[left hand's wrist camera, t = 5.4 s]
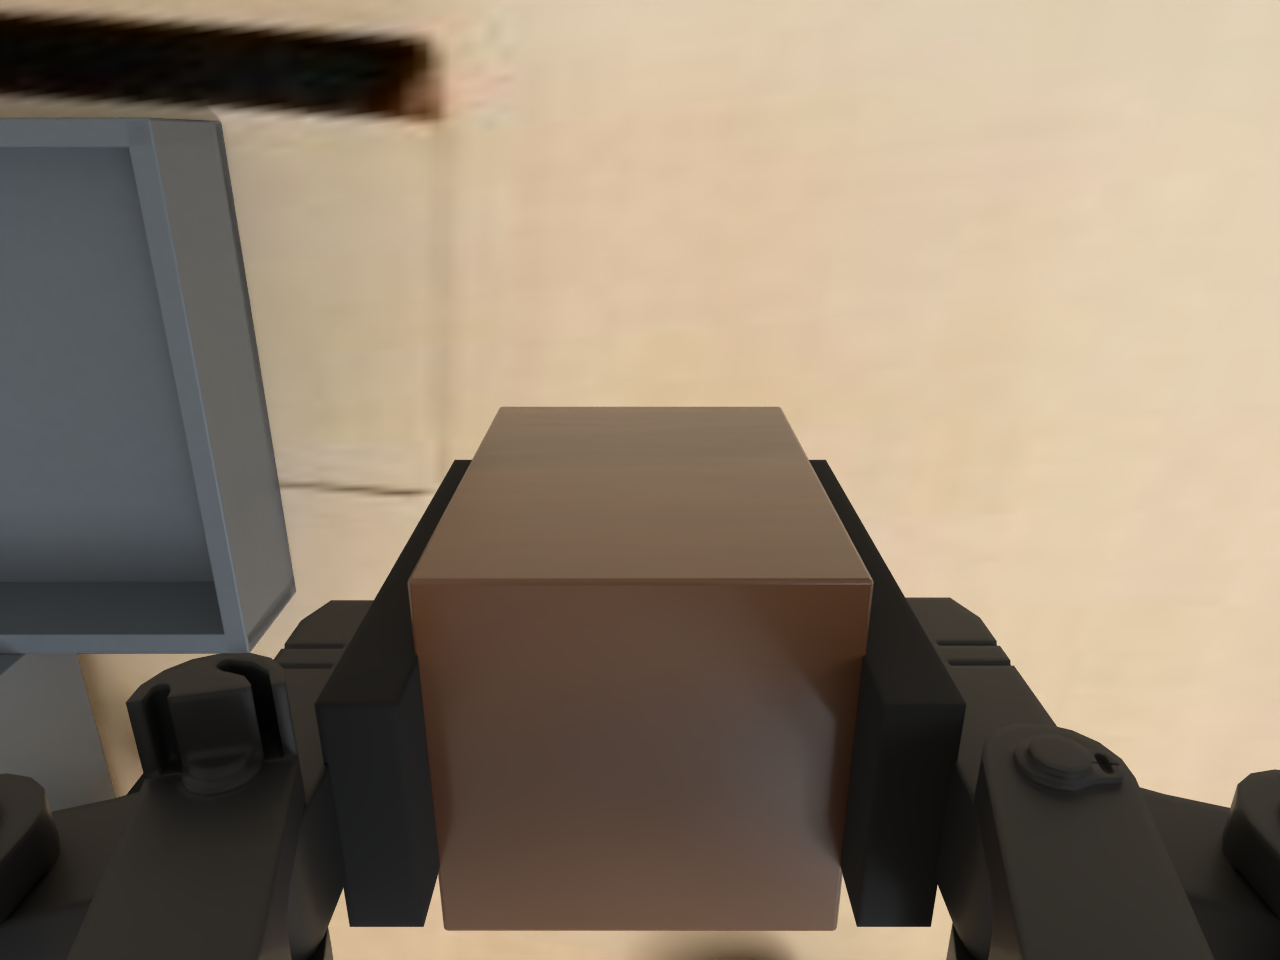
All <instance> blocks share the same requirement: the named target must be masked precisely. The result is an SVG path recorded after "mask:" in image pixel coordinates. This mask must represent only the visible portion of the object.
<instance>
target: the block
mask: <svg viewBox="0 0 1280 960" xmlns="http://www.w3.org/2000/svg"><path fill="white" fill-rule="evenodd" d="M407 584H408V594H409V603H410V612H411V622H412V631H413V641H414V650H415V655H417V656H418V663H419V672H420V682H421V691H422V701H423V711H424V720H425V730H426V739H427V749H428V758H429V768H430V777H431V787H432V796H433V806H434V815H435V825H436V835H437V844H438V854H439V863H440V869H439V872H438V876H439V885H440V895H441V904H442V914H443V923H444V928H445V930H448V931H833V930H835V929H836V928H837V921H838V912H839V902H840V893H841V883H842V870H841V860H842V851H843V841H844V832H845V822H846V813H847V803H848V794H849V784H850V775H851V765H852V756H853V746H854V737H855V727H856V718H857V708H858V699H859V689H860V680H861V670H862V661H863V656H864V655H866V648H867V639H868V630H869V620H870V611H871V601H872V592H873V580H872V578H871V576H870V574H869V572H868V570H867V569H866V567H865V565H864V563H863V561H862V559H861V557H860V555H859V554H858V552H857V550H856V548H855V546H854V544H853V542H852V540H851V539H850V537H849V535H848V533H847V531H846V529H845V527H844V525H843V524H842V522H841V520H840V518H839V516H838V514H837V512H836V510H835V509H834V507H833V505H832V503H831V501H830V499H829V497H828V495H827V494H826V492H825V490H824V488H823V486H822V484H821V482H820V480H819V479H818V477H817V475H816V473H815V471H814V469H813V467H812V465H811V464H810V462H809V460H808V458H807V456H806V454H805V452H804V450H803V449H802V447H801V445H800V443H799V441H798V439H797V437H796V435H795V434H794V432H793V430H792V428H791V426H790V424H789V422H788V420H787V419H786V417H785V415H784V413H783V411H782V409H781V408H780V407H501V408H500V409H499V411H498V413H497V414H496V416H495V418H494V420H493V422H492V424H491V426H490V428H489V429H488V431H487V433H486V435H485V437H484V439H483V441H482V443H481V444H480V446H479V448H478V450H477V452H476V454H475V456H474V458H473V459H472V461H471V463H470V465H469V467H468V469H467V471H466V473H465V474H464V476H463V478H462V480H461V482H460V484H459V486H458V488H457V489H456V491H455V493H454V495H453V497H452V499H451V501H450V503H449V504H448V506H447V508H446V510H445V512H444V514H443V516H442V518H441V519H440V521H439V523H438V525H437V527H436V529H435V531H434V533H433V534H432V536H431V538H430V540H429V542H428V544H427V546H426V548H425V549H424V551H423V553H422V555H421V557H420V559H419V561H418V563H417V564H416V566H415V568H414V570H413V572H412V574H411V576H410V578H409V579H408V582H407Z"/></svg>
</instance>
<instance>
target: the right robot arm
mask: <svg viewBox="0 0 1280 960" xmlns="http://www.w3.org/2000/svg"><path fill="white" fill-rule="evenodd" d="M144 780H145V776H144V773H143V774H142V776H141V777H140V778H139V780H138V781H137V782H136V783H135V785H134V786H133V787H132V789H131V790H130V791H129V792H128V794H127V795H129V794H133V793H136V792H139V791H140V789H141V787H142V785H143V782H144Z"/></svg>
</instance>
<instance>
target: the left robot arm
mask: <svg viewBox="0 0 1280 960" xmlns="http://www.w3.org/2000/svg"><path fill="white" fill-rule="evenodd" d="M471 461H472V460H455V461H454V462H453V464H452V466H451V468H450V469H449V471H448V473H447V475H446V476H445V478H444V480H443V482H442V483H441V485H440V487H439V488H438V490H437V492H436V494H435V495H434V497H433V499H432V501H431V502H430V504H429V506H428V508H427V509H426V511H425V513H424V515H423V516H422V518H421V520H420V521H419V523H418V525H417V527H416V528H415V530H414V532H413V534H412V535H411V537H410V539H409V541H408V542H407V544H406V546H405V548H404V549H403V551H402V553H401V554H400V556H399V558H398V560H397V561H396V563H395V565H394V567H393V568H392V570H391V572H390V574H389V575H388V577H387V579H386V581H385V582H384V584H383V586H382V587H381V589H380V591H379V593H378V594H377V596H376V598H375V600H331V601H330V602H328V603H327V604H325V605H324V606H322V607H321V608H319V609H318V610H316V611H315V612H313V613H312V614H310V615H309V616H307V617H306V618H304V619H303V620H301V622H300V623H299V624H298V626H297V627H296V629H295V630H294V632H293V633H292V634H291V636H290V637H289V639H288V640H287V642H286V643H285V648H284V649H281V650H280V652H279V653H278V654H277V656H276V657H275V659H274V660H273V659H271V658H269V657H265V656H261V655H257V654H252V653H221V654H216V655H211V656H206V657H201V658H196V659H192V660H190V661H187V662H184V663H182V664H179V665H177V666H174V667H172V668H169V669H166V670H164V671H162V672H161V673H159V674H158V675H156V676H155V677H153V678H151V679H150V680H148V681H147V682H145V683H144V684H142V685H140V687H139V688H138V689H137V690H136V691H135V692H134V694H133V695H132V696H131V697H130V698H129V699H128V701H127V702H126V705H127V709H128V713H129V717H130V721H131V725H132V729H133V733H134V737H135V741H136V745H137V749H138V753H139V757H140V761H141V765H142V769H143V772H144V776H145V780H144V782H143V785H142V787H141V789H140V791H139V792H136V793H133V794H129V795H126V796H122V797H118V798H114V799H109V800H104V801H100V802H95V803H90V804H86V805H81V806H76V807H71V808H67V809H62V810H57V811H53V812H51V809H50V805H49V802H48V799H47V796H46V792H45V789H44V788H43V787H42V786H41V785H40V784H39V783H37V782H36V781H35V780H34V779H33V778H31V777H26V776H20V775H14V774H8V773H6V774H0V960H333V955H332V948H331V941H330V935H329V930H328V925H329V923H330V920H331V918H332V915H333V912H334V910H335V907H336V905H337V902H338V900H339V897H340V895H341V892H342V890H343V887H344V893H345V899H346V905H347V912H348V918H349V924H350V927H424V923H425V920H426V916H427V912H428V909H429V905H430V901H431V898H432V894H433V890H434V887H435V883H436V879H437V876H438V872H439V869H440V863H439V854H438V844H437V835H436V825H435V815H434V806H433V796H432V787H431V777H430V768H429V758H428V749H427V739H426V730H425V720H424V711H423V701H422V691H421V682H420V672H419V663H418V656H417V655H415V650H414V641H413V631H412V622H411V612H410V603H409V594H408V584H407V582H408V579H409V578H410V576H411V574H412V572H413V570H414V568H415V566H416V564H417V563H418V561H419V559H420V557H421V555H422V553H423V551H424V549H425V548H426V546H427V544H428V542H429V540H430V538H431V536H432V534H433V533H434V531H435V529H436V527H437V525H438V523H439V521H440V519H441V518H442V516H443V514H444V512H445V510H446V508H447V506H448V504H449V503H450V501H451V499H452V497H453V495H454V493H455V491H456V489H457V488H458V486H459V484H460V482H461V480H462V478H463V476H464V474H465V473H466V471H467V469H468V467H469V465H470V463H471ZM809 462H810V464H811V465H812V467H813V469H814V471H815V473H816V475H817V477H818V479H819V480H820V482H821V484H822V486H823V488H824V490H825V492H826V494H827V495H828V497H829V499H830V501H831V503H832V505H833V507H834V509H835V510H836V512H837V514H838V516H839V518H840V520H841V522H842V524H843V525H844V527H845V529H846V531H847V533H848V535H849V537H850V539H851V540H852V542H853V544H854V546H855V548H856V550H857V552H858V554H859V555H860V557H861V559H862V561H863V563H864V565H865V567H866V569H867V570H868V572H869V574H870V576H871V578H872V580H873V592H872V601H871V611H870V620H869V630H868V639H867V648H866V655H864V656H863V661H862V670H861V680H860V689H859V699H858V708H857V718H856V727H855V737H854V746H853V756H852V765H851V775H850V784H849V794H848V803H847V813H846V822H845V832H844V841H843V851H842V860H841V870H842V874H843V877H844V881H845V884H846V888H847V892H848V895H849V899H850V903H851V906H852V910H853V914H854V917H855V921H856V925H857V927H931V922H932V916H933V909H934V903H935V897H936V891H937V884H938V886H939V889H940V891H941V894H942V896H943V899H944V901H945V904H946V906H947V909H948V911H949V914H950V916H951V919H952V921H953V924H952V930H951V935H950V941H949V947H948V953H947V959H946V960H1280V770H1269V771H1263V772H1257V773H1251V774H1250V775H1248V776H1247V777H1246V778H1245V779H1244V780H1242V781H1241V782H1240V783H1239V784H1238V785H1237V788H1236V792H1235V795H1234V798H1233V801H1232V805H1231V808H1227V807H1223V806H1218V805H1213V804H1208V803H1204V802H1199V801H1194V800H1189V799H1185V798H1180V797H1175V796H1170V795H1166V794H1162V793H1158V792H1155V791H1151V790H1147V789H1144V788H1140V787H1139V785H1138V783H1137V781H1136V778H1135V777H1134V775H1133V774H1132V773H1131V771H1130V770H1129V769H1128V767H1127V766H1126V764H1125V763H1124V762H1123V760H1122V759H1121V758H1119V757H1118V756H1117V755H1115V754H1114V753H1113V752H1111V751H1110V750H1109V749H1107V748H1106V747H1105V746H1103V745H1102V744H1101V743H1099V742H1097V741H1095V740H1092V739H1090V738H1088V737H1086V736H1084V735H1081V734H1079V733H1077V732H1075V731H1072V730H1068V729H1064V728H1060V727H1057V726H1056V724H1055V723H1054V722H1053V720H1052V719H1051V717H1050V716H1049V715H1048V713H1047V712H1046V710H1045V709H1044V708H1043V706H1042V705H1041V703H1040V702H1039V700H1038V699H1037V698H1036V696H1035V695H1034V693H1033V692H1032V691H1031V689H1030V688H1029V686H1028V685H1027V684H1026V682H1025V681H1024V679H1023V678H1022V676H1021V675H1020V674H1019V672H1018V671H1017V669H1016V668H1015V667H1014V666H1011V664H1010V660H1009V658H1008V657H1007V655H1006V654H1005V652H1004V651H1003V650H1002V648H1001V647H1000V646H997V644H996V642H997V641H996V640H995V638H994V637H993V636H992V634H991V633H990V631H989V630H988V628H987V627H986V626H985V624H984V623H983V621H982V620H981V619H980V617H978V616H977V615H975V614H974V613H972V612H971V611H969V610H968V609H966V608H965V607H963V606H962V605H960V604H959V603H957V602H956V601H954V600H953V599H951V598H905V597H904V595H903V593H902V591H901V590H900V588H899V586H898V585H897V583H896V581H895V579H894V578H893V576H892V574H891V572H890V571H889V569H888V567H887V565H886V564H885V562H884V560H883V559H882V557H881V555H880V553H879V552H878V550H877V548H876V546H875V545H874V543H873V541H872V539H871V538H870V536H869V534H868V532H867V531H866V529H865V527H864V526H863V524H862V522H861V520H860V519H859V517H858V515H857V513H856V512H855V510H854V508H853V506H852V505H851V503H850V501H849V500H848V498H847V496H846V494H845V493H844V491H843V489H842V487H841V486H840V484H839V482H838V480H837V479H836V477H835V475H834V473H833V472H832V470H831V468H830V467H829V465H828V463H827V461H826V460H809Z"/></svg>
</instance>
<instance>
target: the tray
mask: <svg viewBox="0 0 1280 960" xmlns="http://www.w3.org/2000/svg"><path fill="white" fill-rule="evenodd" d="M295 592H296V590H295V583H294V577H293V571H292V565H291V558H290V552H289V546H288V540H287V533H286V527H285V521H284V514H283V508H282V502H281V496H280V489H279V483H278V477H277V471H276V464H275V458H274V452H273V445H272V439H271V433H270V427H269V420H268V414H267V408H266V402H265V395H264V389H263V383H262V376H261V370H260V364H259V358H258V351H257V345H256V339H255V333H254V326H253V320H252V314H251V307H250V301H249V295H248V289H247V282H246V276H245V270H244V263H243V257H242V251H241V245H240V238H239V232H238V226H237V220H236V213H235V207H234V201H233V194H232V188H231V182H230V176H229V169H228V163H227V157H226V151H225V144H224V138H223V132H222V125H221V122H219V121H205V120H184V119H163V118H0V774H6V773H8V774H14V775H20V776H26V777H31V778H33V779H34V780H35V781H36V782H37V783H39V784H40V785H41V786H42V787H43V788H44V789H45V792H46V796H47V799H48V802H49V805H50V809H51V812H53V811H57V810H62V809H67V808H71V807H76V806H81V805H86V804H90V803H95V802H100V801H104V800H109V799H114V798H116V797H115V794H114V790H113V786H112V782H111V779H110V775H109V771H108V767H107V764H106V760H105V756H104V753H103V749H102V745H101V741H100V738H99V734H98V730H97V726H96V723H95V719H94V715H93V712H92V708H91V704H90V700H89V697H88V693H87V689H86V685H85V682H84V678H83V674H82V671H81V667H80V663H79V659H78V656H77V654H198V653H250V652H251V650H252V649H253V648H254V646H255V645H256V644H257V643H258V641H259V640H260V639H261V637H262V636H263V635H264V633H265V632H266V631H267V629H268V628H269V627H270V625H271V624H272V623H273V621H274V620H275V619H276V617H277V616H278V615H279V613H280V612H281V611H282V610H283V608H284V607H285V606H286V604H287V603H288V602H289V600H290V599H291V598H292V596H293V595H294V594H295Z"/></svg>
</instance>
